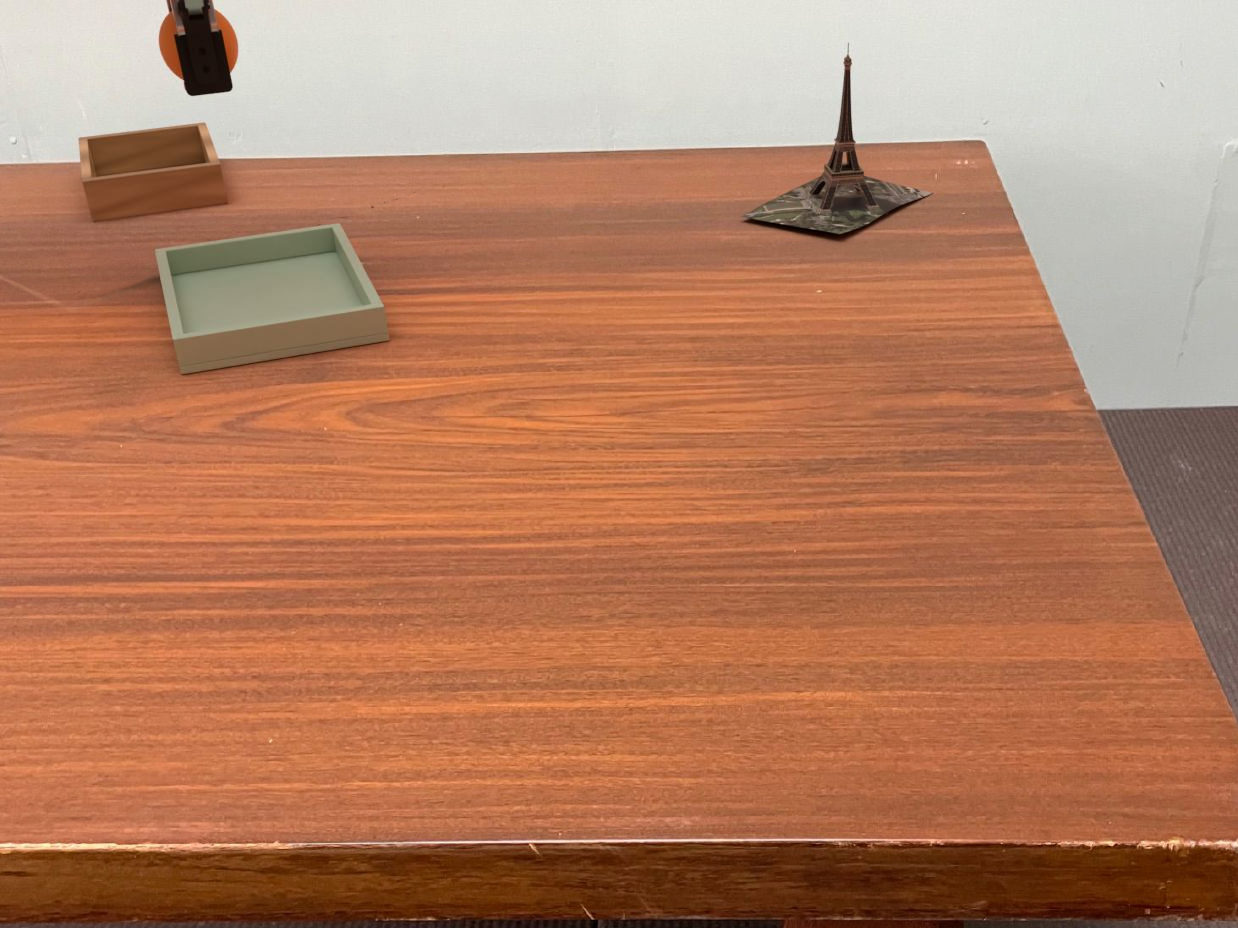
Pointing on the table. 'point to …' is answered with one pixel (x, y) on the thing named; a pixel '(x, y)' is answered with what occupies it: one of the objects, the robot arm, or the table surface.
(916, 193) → the eiffel tower figurine
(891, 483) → the table surface
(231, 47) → the orange
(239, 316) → the tray
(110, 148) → the wooden box
